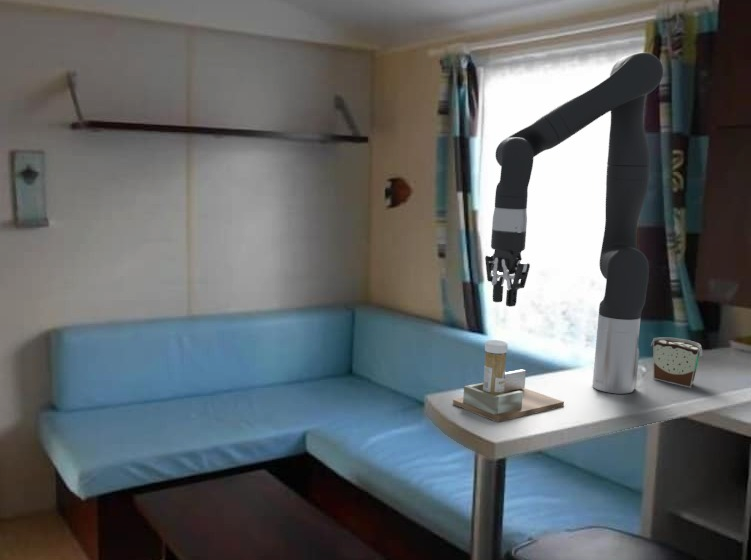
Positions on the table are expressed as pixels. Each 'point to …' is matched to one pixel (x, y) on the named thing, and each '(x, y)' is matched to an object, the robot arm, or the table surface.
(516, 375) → the bar
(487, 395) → the cradle board
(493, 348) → the tan spice jar
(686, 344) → the food container
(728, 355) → the table surface
